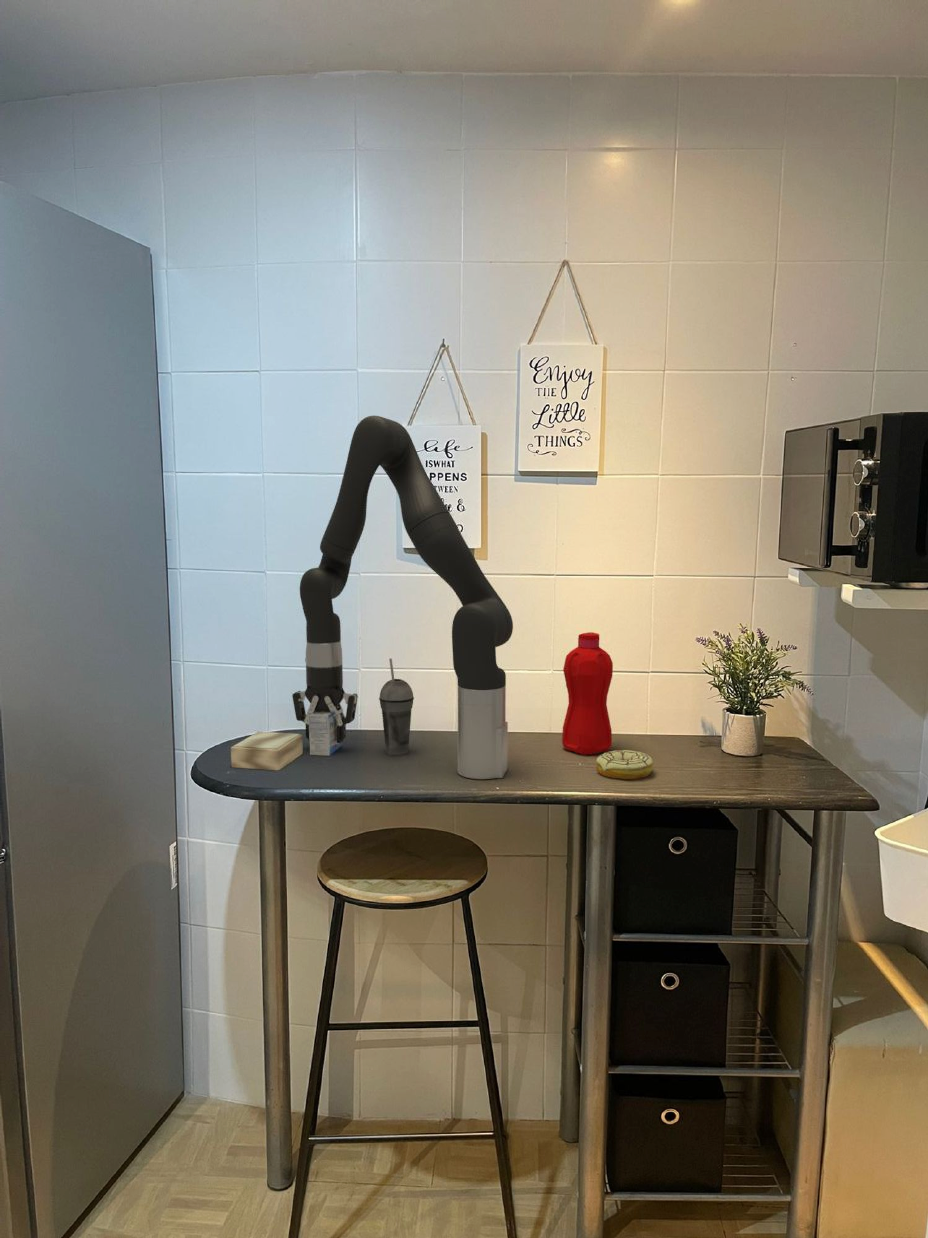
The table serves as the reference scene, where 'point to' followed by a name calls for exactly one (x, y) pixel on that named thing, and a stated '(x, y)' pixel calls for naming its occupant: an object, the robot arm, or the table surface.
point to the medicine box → (323, 733)
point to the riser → (267, 750)
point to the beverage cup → (396, 714)
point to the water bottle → (587, 697)
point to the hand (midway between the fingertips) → (325, 741)
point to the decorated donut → (624, 764)
